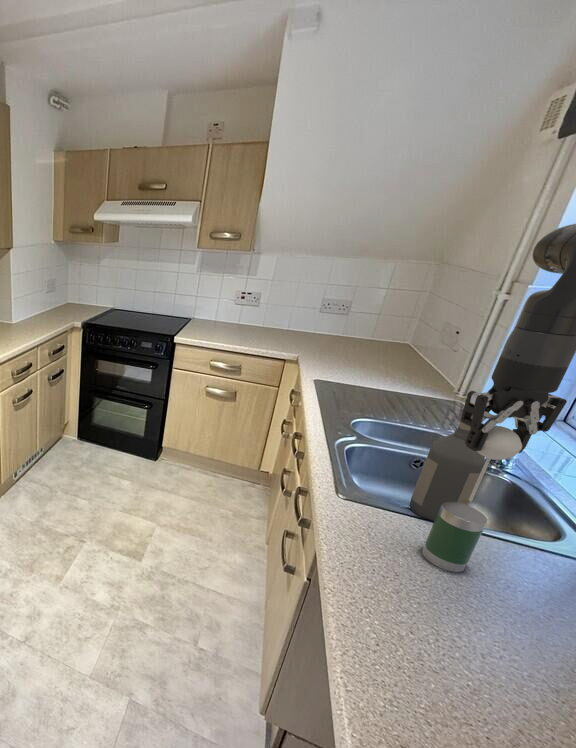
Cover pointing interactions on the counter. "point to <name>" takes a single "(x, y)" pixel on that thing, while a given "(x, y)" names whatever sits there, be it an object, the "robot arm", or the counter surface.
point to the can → (454, 536)
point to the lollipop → (498, 449)
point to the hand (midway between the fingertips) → (492, 449)
